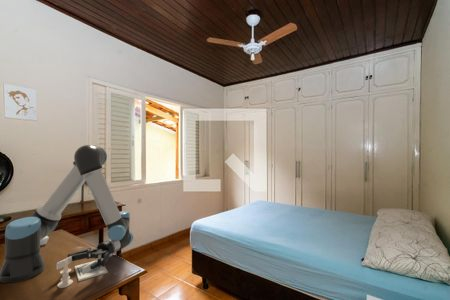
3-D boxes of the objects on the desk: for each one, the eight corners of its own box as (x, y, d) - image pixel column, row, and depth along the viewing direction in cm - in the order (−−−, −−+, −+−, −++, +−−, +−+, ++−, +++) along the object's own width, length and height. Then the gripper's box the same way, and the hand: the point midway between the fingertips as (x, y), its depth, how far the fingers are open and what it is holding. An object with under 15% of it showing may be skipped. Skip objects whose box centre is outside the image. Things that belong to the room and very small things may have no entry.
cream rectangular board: (74, 267, 105) (74, 265, 105) (100, 260, 112) (100, 259, 112) (78, 281, 95) (78, 279, 95) (107, 272, 102) (107, 270, 102)
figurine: (33, 248, 125) (34, 221, 125) (29, 244, 131) (30, 218, 131) (49, 244, 130) (50, 218, 130) (45, 240, 136) (46, 215, 136)
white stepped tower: (74, 283, 93) (75, 258, 93) (59, 289, 89) (59, 263, 89) (70, 279, 96) (71, 254, 96) (56, 284, 92) (56, 258, 92)
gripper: (129, 258, 111) (94, 282, 90) (88, 252, 117) (46, 273, 97) (129, 243, 111) (94, 264, 90) (88, 237, 117) (47, 255, 97)
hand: (69, 268), depth 93 cm, fingers open, 13 cm apart
